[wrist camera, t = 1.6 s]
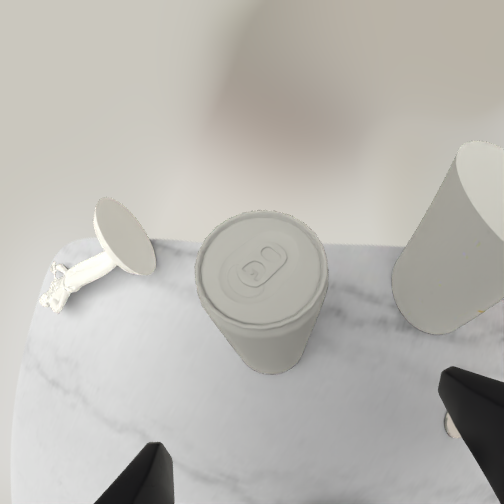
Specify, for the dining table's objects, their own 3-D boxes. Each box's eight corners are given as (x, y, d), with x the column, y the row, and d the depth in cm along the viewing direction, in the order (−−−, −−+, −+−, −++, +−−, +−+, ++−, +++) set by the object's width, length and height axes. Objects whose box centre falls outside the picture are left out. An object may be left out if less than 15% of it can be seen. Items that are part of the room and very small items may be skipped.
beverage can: (223, 343, 21) (163, 267, 10) (270, 297, 22) (258, 187, 12) (272, 389, 19) (261, 366, 8) (319, 339, 20) (359, 258, 10)
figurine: (87, 231, 17) (7, 311, 18) (157, 292, 21) (67, 351, 23) (104, 183, 22) (28, 258, 23) (155, 237, 27) (76, 297, 28)
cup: (462, 348, 18) (567, 285, 8) (378, 312, 21) (452, 217, 10) (476, 265, 21) (549, 179, 11) (404, 231, 24) (455, 123, 13)
